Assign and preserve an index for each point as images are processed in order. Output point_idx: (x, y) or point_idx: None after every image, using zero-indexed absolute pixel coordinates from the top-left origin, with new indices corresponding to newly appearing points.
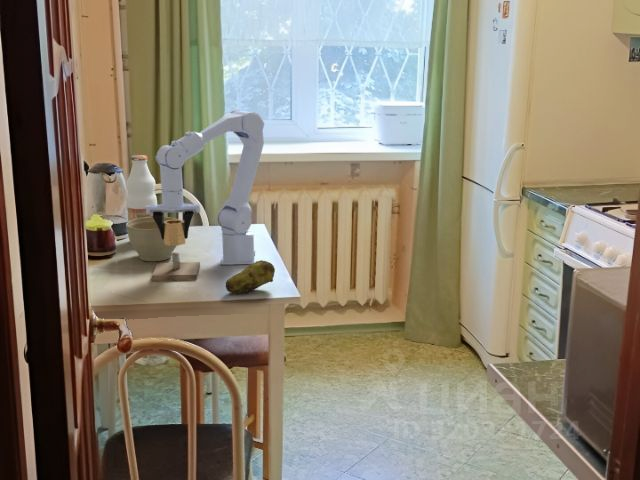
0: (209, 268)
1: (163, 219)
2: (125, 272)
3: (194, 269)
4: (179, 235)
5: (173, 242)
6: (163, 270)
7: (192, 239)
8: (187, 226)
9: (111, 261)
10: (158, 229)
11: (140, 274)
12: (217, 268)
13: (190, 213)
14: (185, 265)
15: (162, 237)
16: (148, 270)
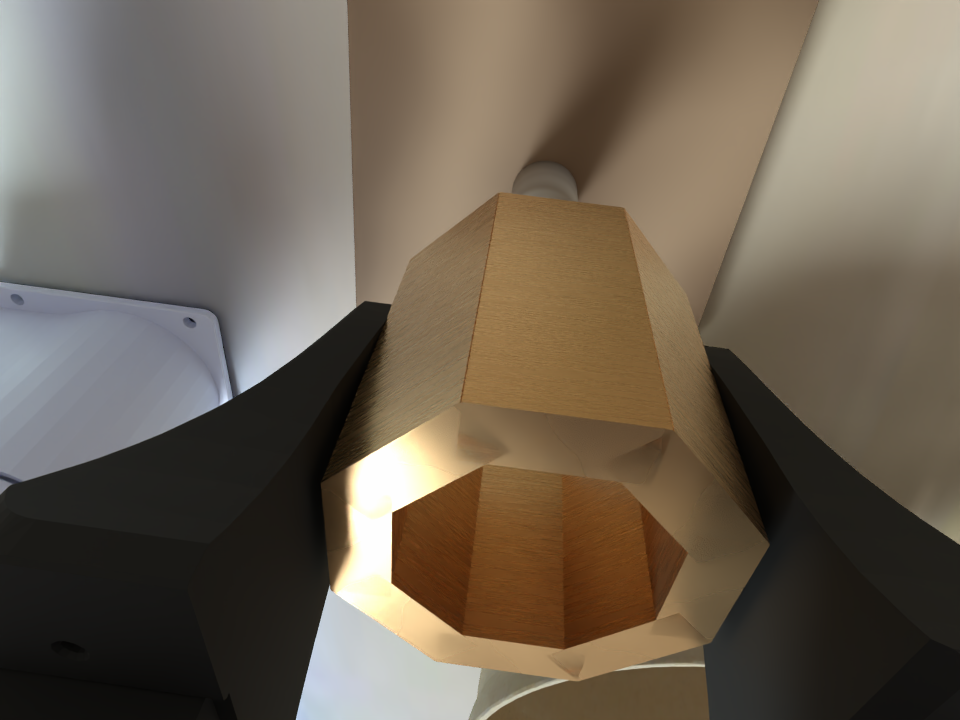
0: (292, 260)
1: (730, 678)
2: (950, 300)
3: (381, 132)
4: (457, 278)
5: (568, 219)
6: (668, 160)
7: (444, 698)
8: (266, 393)
9: (946, 530)
10: (689, 658)
11: (850, 223)
12: (231, 247)
13: (43, 668)
14: None
15: (729, 358)
16: (757, 310)
